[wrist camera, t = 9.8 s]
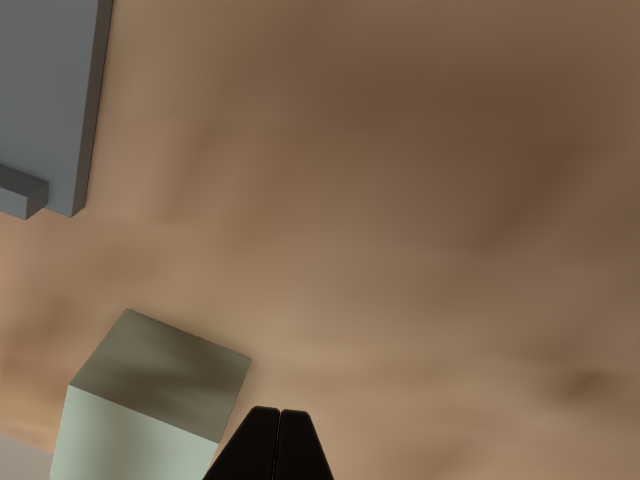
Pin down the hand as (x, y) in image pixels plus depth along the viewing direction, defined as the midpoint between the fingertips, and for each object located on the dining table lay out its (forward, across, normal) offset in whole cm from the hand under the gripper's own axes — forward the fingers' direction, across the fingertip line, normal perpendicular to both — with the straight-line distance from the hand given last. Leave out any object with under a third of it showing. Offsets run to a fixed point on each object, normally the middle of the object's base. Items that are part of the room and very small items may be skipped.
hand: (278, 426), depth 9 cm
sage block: (+14, +5, +13) cm, 20 cm away
